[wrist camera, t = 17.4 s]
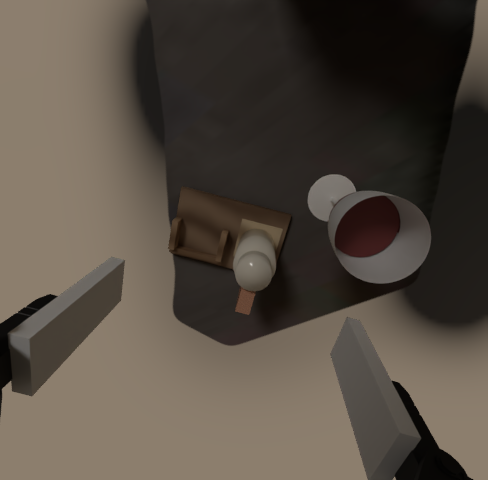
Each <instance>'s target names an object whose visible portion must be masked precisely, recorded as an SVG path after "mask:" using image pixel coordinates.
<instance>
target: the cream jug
mask: <svg viewBox="0 0 488 480" xmlns="http://www.w3.org/2000/svg"><path fill="white" fill-rule="evenodd" d="M233 269H234V273H235V276H236V280H237V282H238V284H239V285H240V290H239V294H238V299H237V305H236V310H235V311H236V312H240V313H244V314H248V315H249V313H250V310H251V306H252V303H253V300H254V296H255V292H256V291H260V290H263V289H264V288H266V287H267V286H268V285H269V283H270V281H271V278H272V277H273V276H274V274H275V271H276V258H275V244H274V240H273V238H272V236H271V235H270V234H269V233H268V232H267V231H265V230H263V229H257V228H256V229H250V230H248V231H246V232H245V233H244V234H243V235H242V236H241V238H240V240H239V244H238V247H237V251H236V254H235V258H234V261H233Z"/></svg>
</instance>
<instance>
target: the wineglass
mask: <svg viewBox="0 0 488 480" xmlns="http://www.w3.org/2000/svg"><path fill="white" fill-rule="evenodd" d="M308 205H309V209H310V210H311V212H312V213H313V215H314V216H316V217H317V218H318V219H320V220H323V221H328V233H329V238H330V241H331V244H332V247H333V249H334V252H335V254H336V256H337V257H338V259H339V261H340V262H341V264H342V265H343V267H344V268H345V269H346V270H347V271H348V272H349V273H350V274H352V275H353V276H355V277H356V278H359V279H361V280H363V281H366V282H370V283H391V282H395V281H398V280H401V279H403V278H405V277H407V276H409V275H410V274H412V273H413V272H414V271H415V270H417V268H418V267H419V266H420V265H421V264H422V263H423V261H424V260H425V258H426V256H427V254H428V252H429V248H430V244H431V231H430V227H429V223H428V221H427V219H426V217H425V216H424V214H423V213H422V211H421V210H420V209H419V208H418V207H417V206H415V205H414V204H412V203H411V202H409V201H407V200H405V199H403V198H400V197H397V196H394V195H391V194H387V193H383V192H377V191H359V192H356V189H355V187H354V185H353V183H352V182H351V181H350V180H349V179H347V178H346V177H344V176H341V175H327V176H324V177H322V178H320V179H319V180H318V181H316V182H315V183H314V185H313V186H312V187H311V189H310V192H309V194H308Z"/></svg>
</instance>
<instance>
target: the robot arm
mask: <svg viewBox="0 0 488 480" xmlns="http://www.w3.org/2000/svg"><path fill="white" fill-rule="evenodd" d="M124 263H125V260H122V259H118V258H114V257H111V258H109V259H108V260H107V261H105V262H104V263H103V264H101V265H100V266H99V267H97V268H96V269H94V270H93V271H92V272H90V273H89V274H88V275H86V276H85V277H84V278H82V279H81V280H80V281H78V282H77V283H76V284H74V285H73V286H72V287H70V288H69V289H67V290H66V291H65V292H63V293H62V294H61V295H59V296H55V295H51V294H49V295H46V296H44V297H41V298H38V299H36V300H35V301H33V302H32V303H30V304H29V305H27V307H26V308H23V309H21V310H20V311H19V312H18V313H16V314H14V315H13V316H11V317H10V318H8V319H7V320H5V321H4V322H2V323H1V324H0V415H1V403H2V388H3V387H4V386H5V385H6V384H8V383H9V382H10V381H12V382H11V383H12V391H13V392H17V393H21V394H25V395H29V396H33V395H34V394H35V393H36V391H37V390H38V389H39V388H40V387H41V386H42V385H43V384H44V383H45V382H46V381H47V379H48V378H49V377H50V376H51V375H52V374H53V373H54V372H55V371H56V370H57V369H58V368H59V367H60V366H61V364H62V363H63V362H64V361H65V360H66V359H67V358H68V357H69V356H70V355H71V354H72V352H73V351H74V350H75V349H76V348H77V347H78V346H79V345H80V344H81V343H82V342H83V341H84V339H85V338H86V337H87V336H88V335H89V334H90V333H91V332H92V331H93V330H94V329H95V328H96V327H97V326H98V325H99V323H100V322H101V321H102V320H103V319H104V318H105V317H106V316H107V315H108V314H109V313H110V312H111V310H112V309H113V308H114V307H115V306H116V305H117V304H118V303H119V302H120V301H121V293H122V284H123V274H124ZM331 358H332V361H333V364H334V367H335V371H336V374H337V377H338V381H339V384H340V388H341V391H342V394H343V398H344V401H345V404H346V408H347V411H348V414H349V418H350V421H351V425H352V427H353V431H354V435H355V438H356V441H357V444H358V448H359V451H360V455H361V458H362V461H363V465H364V468H365V471H366V475H367V478H368V480H392V479H393V478H394V477H395V478H396V480H473V479H471V478H469V477H468V476H467V474H466V472H465V470H464V469H463V468H462V467H461V465H460V464H459V463H458V462H457V461H456V460H455V459H454V458H453V457H452V456H451V455H449V454H448V453H446V452H445V451H443V450H441V449H439V447H438V445H437V443H436V442H435V440H434V438H433V436H432V435H431V433H430V431H429V429H428V427H427V425H426V424H425V422H424V420H423V418H422V417H421V415H419V411H418V410H417V408H416V406H414V402H413V401H412V399H411V397H410V395H409V394H408V392H407V391H406V390H405V389H404V388H403V387H402V386H401V385H400V383H398V382H395V381H391V379H390V378H389V376H388V373H387V372H386V370H385V368H384V366H383V364H382V362H381V360H380V358H379V356H378V354H377V352H376V350H375V349H374V347H373V345H372V343H371V341H370V339H369V337H368V335H367V333H366V331H365V330H364V327H363V326H362V324H361V322H360V320H356V319H352V318H348V317H347V318H346V321H345V323H344V325H343V327H342V329H341V332H340V334H339V336H338V338H337V340H336V343H335V345H334V347H333V349H332V351H331Z"/></svg>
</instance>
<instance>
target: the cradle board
mask: <svg viewBox="0 0 488 480" xmlns="http://www.w3.org/2000/svg"><path fill="white" fill-rule="evenodd" d="M290 219H291V214H288V213H284V212H280V211H276V210H272V209H268V208H265V207H261V206H257V205H253V204H249V203H245V202H241V201H238V200H234V199H230V198H226V197H222V196H218V195H214V194H211V193H207V192H203V191H199V190H195V189H191V188H187V187H184V186H183V187H181V192H180V198H179V204H178V211H177V217H176V218H175V219H174V220H173V221H172V227H171V234H170V240H169V247H168V249H170V250H169V251H170V252H171V253H172V254H176V255H180V256H184V257H188V258H191V259H195V260H199V261H203V262H207V263H211V264H215V265H219V266H222V267H226V268H230V269H233V261H234V258H235V254H236V251H237V247H238V244H239V240H240V238H241V236H242V235H243V234H244V233H245V232H246V231H248V230H250V229H256V228H257V229H263V230H265V231H267V232H268V233H269V234H270V235H271V236H272V238H273V240H274V244H275V258H276V263H277V260H278V256H279V253H280V250H281V247H282V244H283V241H284V238H285V234H286V231H287V228H288V225H289V222H290ZM271 279H272V278H271Z"/></svg>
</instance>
